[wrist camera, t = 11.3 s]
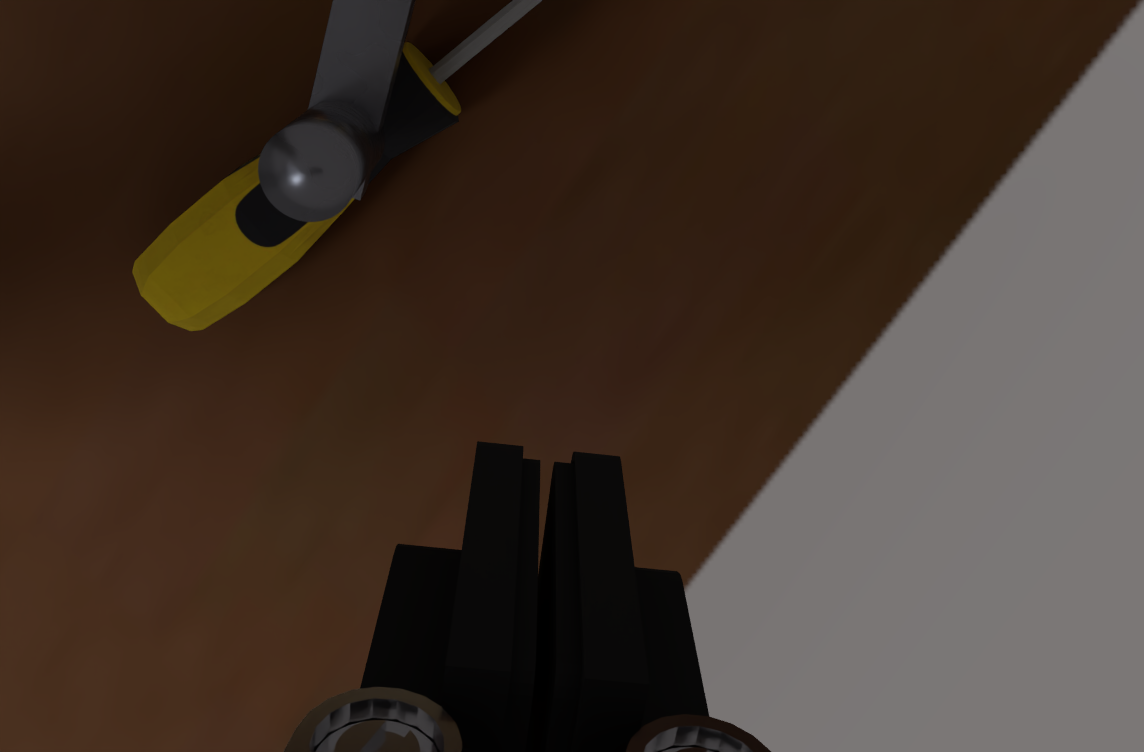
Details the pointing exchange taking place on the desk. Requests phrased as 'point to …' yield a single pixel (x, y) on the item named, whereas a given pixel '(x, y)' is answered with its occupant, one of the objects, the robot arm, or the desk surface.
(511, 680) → the robot arm
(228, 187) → the screwdriver
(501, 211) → the desk surface
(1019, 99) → the desk surface
